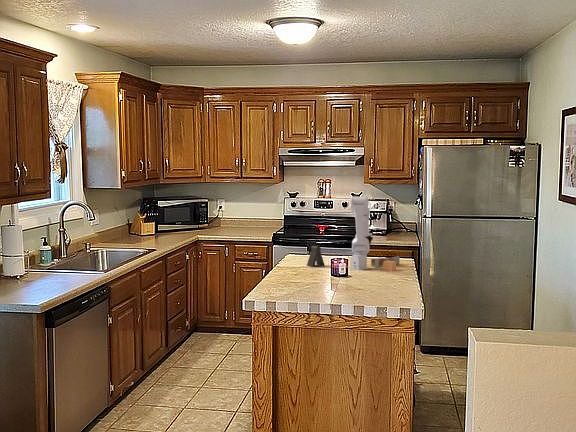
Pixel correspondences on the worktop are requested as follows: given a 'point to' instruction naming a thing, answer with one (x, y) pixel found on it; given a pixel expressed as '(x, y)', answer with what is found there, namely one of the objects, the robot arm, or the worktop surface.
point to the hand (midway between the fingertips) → (363, 249)
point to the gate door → (380, 261)
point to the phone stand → (315, 257)
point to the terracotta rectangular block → (389, 265)
